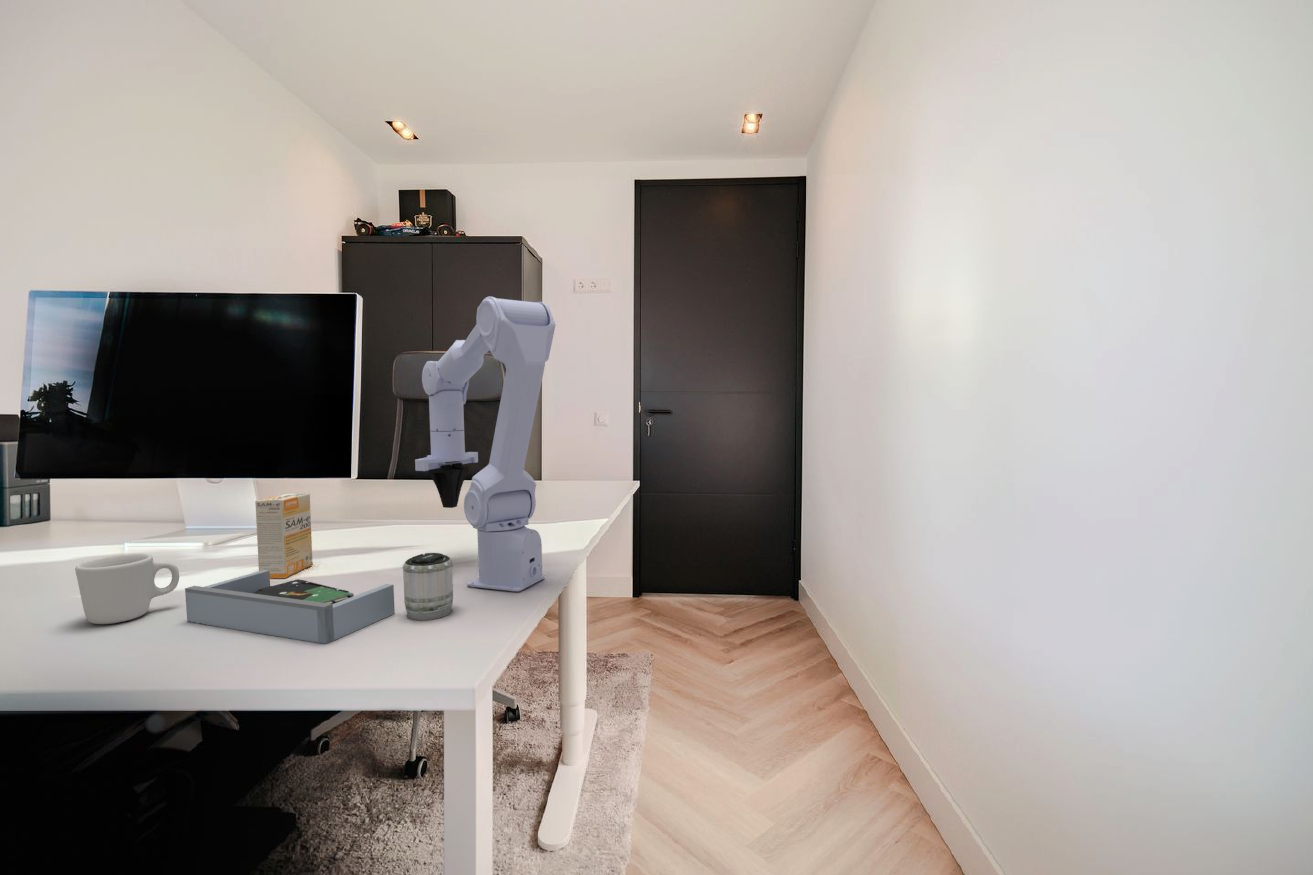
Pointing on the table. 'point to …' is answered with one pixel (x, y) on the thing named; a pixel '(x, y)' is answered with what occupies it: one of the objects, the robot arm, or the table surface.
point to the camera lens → (428, 586)
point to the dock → (284, 610)
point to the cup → (120, 586)
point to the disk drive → (306, 592)
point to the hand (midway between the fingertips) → (450, 507)
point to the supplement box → (284, 534)
